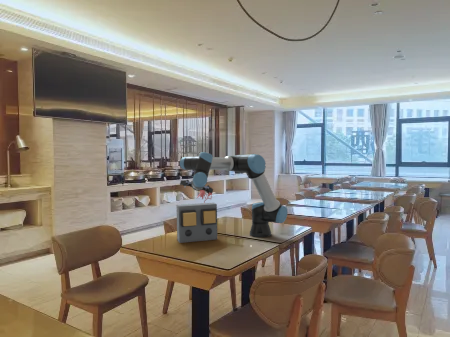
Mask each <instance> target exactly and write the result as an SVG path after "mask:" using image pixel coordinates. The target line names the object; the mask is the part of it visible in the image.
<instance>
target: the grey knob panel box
mask: <svg viewBox="0 0 450 337" xmlns="http://www.w3.org/2000/svg"><path fill="white" fill-rule="evenodd" d="M175 206H176V238H177V242H178V243H179V244H180V243H183V244H184V243H191V242H202V241H203V242H204V241H212V240H214V241H215V240H218V203H215V202H205V203H204V202H203V203H202V202H201V203H188V204H176V205H175ZM210 210H215V211H216V223H207V224H204V223H203V211H210ZM192 212H195V213H196V225H194V226H183V213H192Z"/></svg>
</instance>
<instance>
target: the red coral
mask: <svg viewBox="0 0 450 337" xmlns="http://www.w3.org/2000/svg"><path fill="white" fill-rule="evenodd" d="M205 192H206V191H204V190H200V191H199V194H198V195H197V197H196V199H198V198H199V197H200V198H201V200H203V199H204V200H203V203H206V202H205V201H207V200H208V199H209V200H211V199H212V198H213V197H212V196H213V192H212V193H210V192H209V194H208V193H207V194H205Z"/></svg>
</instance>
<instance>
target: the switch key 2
mask: <svg viewBox="0 0 450 337" xmlns="http://www.w3.org/2000/svg"><path fill="white" fill-rule="evenodd" d="M203 223H204V224H207V223H216V211H215V210H210V211H203Z"/></svg>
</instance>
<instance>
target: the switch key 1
mask: <svg viewBox="0 0 450 337" xmlns="http://www.w3.org/2000/svg"><path fill="white" fill-rule="evenodd" d="M194 225H196V213H195V212H192V213H183V226H194Z"/></svg>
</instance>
